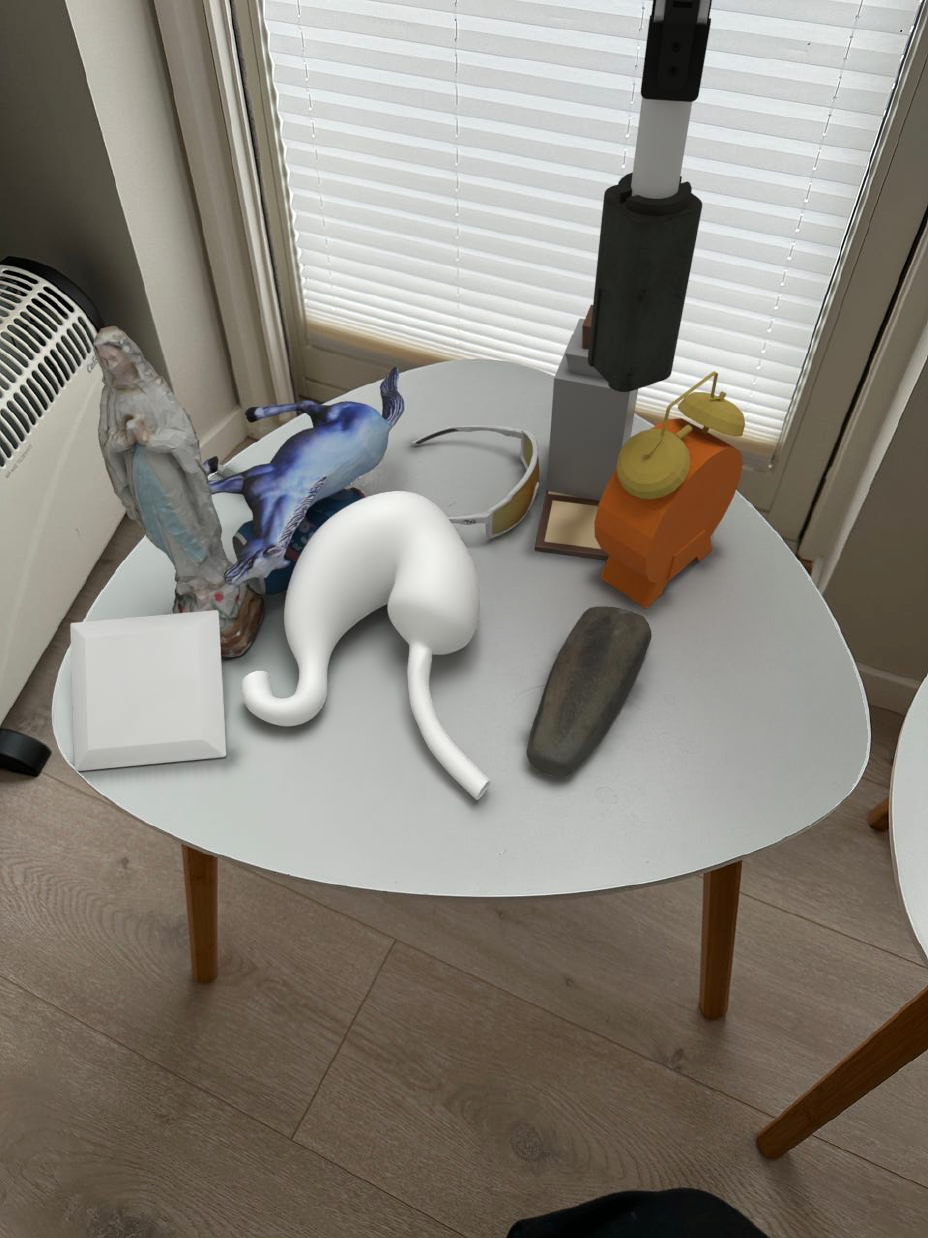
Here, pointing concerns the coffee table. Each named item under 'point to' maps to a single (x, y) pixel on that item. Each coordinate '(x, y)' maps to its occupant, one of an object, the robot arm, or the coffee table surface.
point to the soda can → (296, 539)
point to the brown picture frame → (569, 526)
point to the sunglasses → (516, 500)
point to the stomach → (363, 582)
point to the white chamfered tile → (147, 690)
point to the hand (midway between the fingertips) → (670, 80)
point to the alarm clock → (669, 495)
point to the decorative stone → (587, 688)
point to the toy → (305, 471)
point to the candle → (645, 255)
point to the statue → (168, 487)
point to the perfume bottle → (585, 422)
